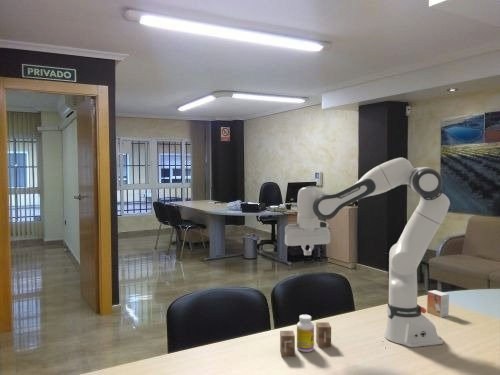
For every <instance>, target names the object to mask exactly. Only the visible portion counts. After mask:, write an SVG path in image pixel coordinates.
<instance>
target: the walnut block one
mask: <svg viewBox="0 0 500 375" xmlns="http://www.w3.org/2000/svg"><path fill="white" fill-rule="evenodd" d="M315 325H316V326H315V327H316V328H315V330H316V331H315V332H316V333H315V334H316V335H315V336H316V337H315V338H316V340H315V341H316V344H317V347H318V348H331V347H332V326H331V324H330V322H329V321H327V322H326V321H325V322H324V321H323V322H316V323H315Z"/></svg>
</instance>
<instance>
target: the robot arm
mask: <svg viewBox="0 0 500 375" xmlns="http://www.w3.org/2000/svg"><path fill="white" fill-rule="evenodd" d="M401 185H402V186H403V185H407V186H408V187H409V188H410V189H411V191H413V192H414V193H416V194H417V195H419V197H420V198H419V202H418V205H417V206H416V208H415V210H414V211H413V213H412V214H411V216H410V218H409V219H408V221H407V223H406V224H405V226H404V229H403V231H402V233H401V234H400V237H399V238H398V240H397V242H396V243H394V244H393V245H392V246H391V247H390V249H389V254H388V256H389V257H388V262H389V263H388V302H387V307H386V309H387V324H386V328H385V331H384V337H385V338H386V339H387V340H388V341H390V342H392V343H396V344H399V345H404V346H405V347H408V348H418V347H423V346H424V347H427V346H435V345H442V344H444V339H443V337H442V336H441V335H440V334H439V333H438V332H437V331H438V330H437V328H436V325H435V324H434V322H432V321H431V320H430V319H429V318H427V317H426V316H425V315H424V314H426V313H427V308H425V307H422V306H421V305H419V304H418V267H419V266H420V263H421V261H422V260H423V258H424V256H425V253H427V250H428V247H429V245H430V243H431V242H432V240H433V239H434V236H435V235H436V233H437V231H438V230H439V228H440V227H441V225H442V223H443V221H444V219H445V218H446V215H447V214H448V211H449V208H450V206H451V202H450V199H449V197H448V196H447V195H446V194H444V193H443V178H442V176H441V174H440V173H439V172H438V171H437V170H436V169H434V168H432V167H428V166H413V165H412V163H411V162H410V161H409V160H408V159H407V158H404V157H397V158H396V157H395V158H393V159H390V160H388V161H387V160H386V161H385V162H383V163H380V164H379V165H377V166H375V167H373V168H372V169H370V170H369V171H367V172H366V173H365V174H363V176H361V177H360V179H358V180H357V181H356V182H354V183H353V184H352V185H349V186H347V187H346V188H344V189H343V190H340V191H339V192H336V193H333V194H332V193H331V192H330V193H329V192H326V191H323V190H322V189H320V188H318V187H317V186H316V185H309V186H305V187H304V186H303V187H301V188H300V189H298V193H297V201H296V202H297V203H296V205H297V218H296V220H297V221H296V222H297V223H288V224H287V225H286V226H285V227H284V244H285V245H286V246H287V247H294V246H297V247H298V246H301V249H302V251H303V255H304V256H312V251H313V249H314V248H315V245H328V244H330V243H331V239H332V238H331V232H330V229H329V222H327V221H328V220H331V219H333V218H335V216H337V214H338V213H339V211H341V210H342V209H343V208H345V207H347V206H349V205H351V204H353V203H355V202H357V201H359V200H361V199H364V198H367V197H371V196H376V195H380V194H383V193H386V192H388V191H391V190H392V189H395V188H396V187H399V186H401ZM307 246H309V249H308V250H307V249H306V247H307Z"/></svg>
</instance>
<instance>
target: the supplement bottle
mask: <svg viewBox="0 0 500 375" xmlns="http://www.w3.org/2000/svg"><path fill="white" fill-rule="evenodd" d="M314 331H315V324H314V323H313V322H312V316H311V315H309V314H300V315H299V321H298V322H297V324H296V349H297V350H298V351H300V352H304V353H310V352H312V351H314V349H315V348H314V347H315V332H314Z"/></svg>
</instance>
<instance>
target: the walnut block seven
mask: <svg viewBox="0 0 500 375" xmlns="http://www.w3.org/2000/svg"><path fill="white" fill-rule="evenodd" d="M279 334H280V335H279V338H280V339H279V342H280V343H279V348H280V349H279V351H280V356H281V358H295V357H296V345H295V343H296V338H295V337H296V335H295V332H294V330H280V331H279Z"/></svg>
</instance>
